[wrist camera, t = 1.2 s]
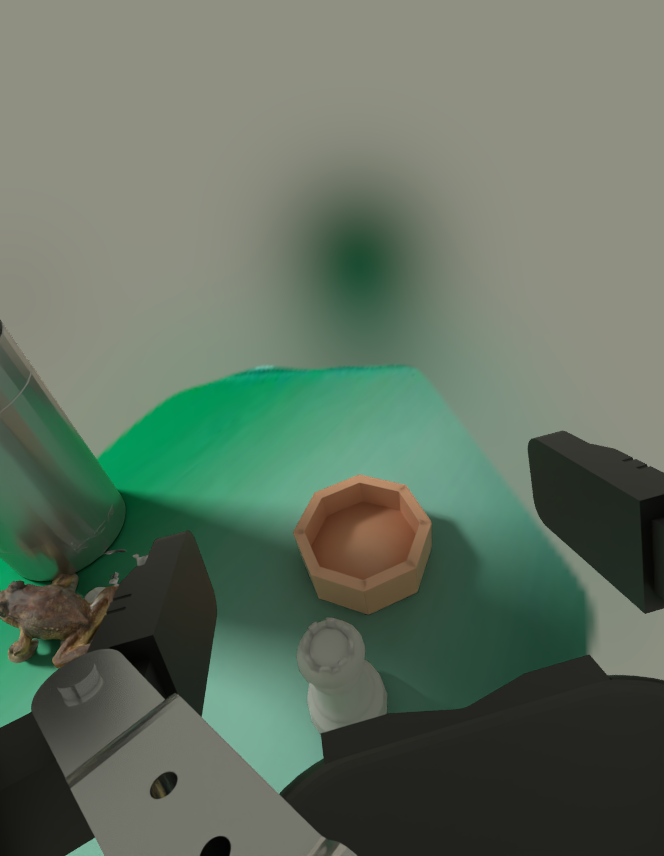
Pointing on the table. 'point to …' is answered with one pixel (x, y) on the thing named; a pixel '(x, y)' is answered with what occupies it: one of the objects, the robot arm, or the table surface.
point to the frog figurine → (56, 614)
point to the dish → (364, 543)
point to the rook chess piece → (339, 676)
